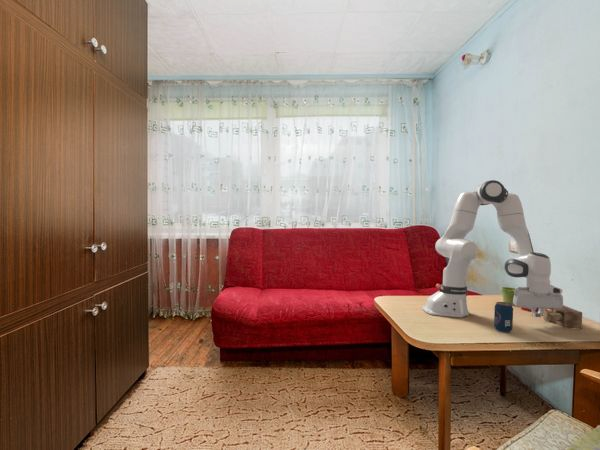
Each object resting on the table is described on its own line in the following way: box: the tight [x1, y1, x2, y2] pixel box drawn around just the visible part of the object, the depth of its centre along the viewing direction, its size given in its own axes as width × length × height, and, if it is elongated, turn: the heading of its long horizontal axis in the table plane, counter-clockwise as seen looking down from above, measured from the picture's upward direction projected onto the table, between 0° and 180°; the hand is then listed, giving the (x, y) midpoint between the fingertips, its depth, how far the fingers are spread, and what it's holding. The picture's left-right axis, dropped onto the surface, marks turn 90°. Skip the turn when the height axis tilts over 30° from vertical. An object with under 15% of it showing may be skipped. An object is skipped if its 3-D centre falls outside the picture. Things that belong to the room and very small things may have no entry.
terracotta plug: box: [541, 308, 553, 317], centre depth 151 cm, size 8×4×4 cm, turn 85°
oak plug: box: [542, 312, 564, 322], centre depth 145 cm, size 8×4×4 cm, turn 85°
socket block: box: [546, 304, 583, 330], centre depth 148 cm, size 7×14×8 cm, turn 175°
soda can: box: [493, 301, 514, 333], centre depth 138 cm, size 7×7×12 cm
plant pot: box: [500, 286, 517, 306], centre depth 179 cm, size 9×9×9 cm
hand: (536, 316), depth 145 cm, fingers closed
